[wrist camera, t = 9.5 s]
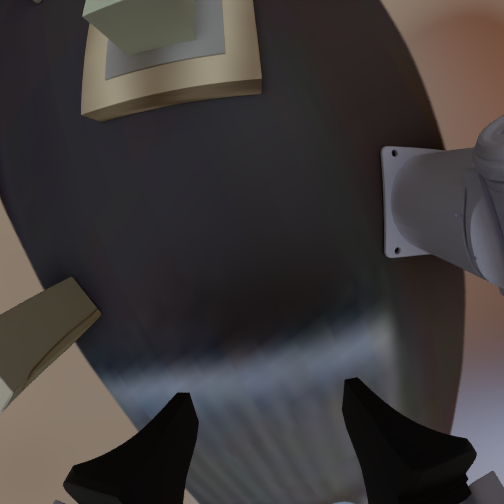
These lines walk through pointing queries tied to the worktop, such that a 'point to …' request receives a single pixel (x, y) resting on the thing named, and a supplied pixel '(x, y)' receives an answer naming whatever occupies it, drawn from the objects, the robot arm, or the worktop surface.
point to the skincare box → (40, 334)
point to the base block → (175, 65)
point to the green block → (143, 22)
